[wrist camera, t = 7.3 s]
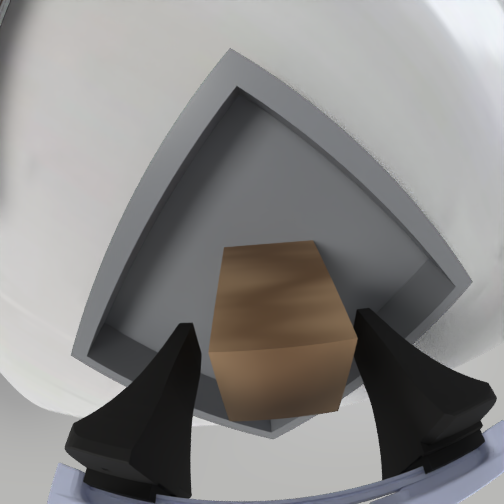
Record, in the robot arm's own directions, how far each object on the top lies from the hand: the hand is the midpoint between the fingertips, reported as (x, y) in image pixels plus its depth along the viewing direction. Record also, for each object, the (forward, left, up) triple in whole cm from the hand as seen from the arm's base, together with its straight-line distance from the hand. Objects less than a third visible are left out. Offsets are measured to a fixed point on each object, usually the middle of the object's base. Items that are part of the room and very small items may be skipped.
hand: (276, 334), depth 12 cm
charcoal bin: (0, +1, -5) cm, 5 cm away
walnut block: (0, 0, -4) cm, 4 cm away
